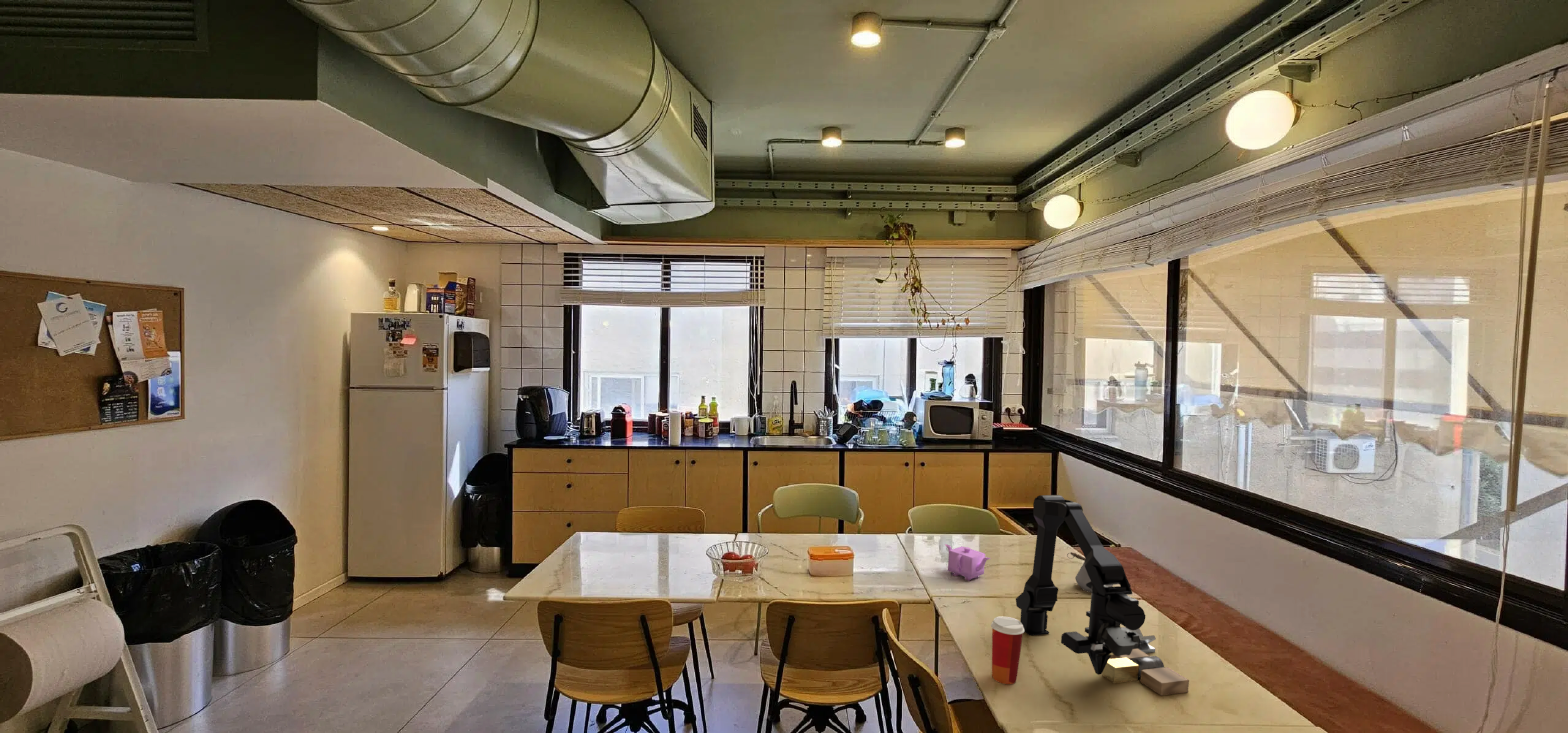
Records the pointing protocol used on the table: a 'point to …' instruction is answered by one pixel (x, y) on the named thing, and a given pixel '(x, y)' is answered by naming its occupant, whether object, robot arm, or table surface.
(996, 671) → the paper cup
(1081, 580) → the coffee pot
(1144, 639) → the v block
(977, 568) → the teapot
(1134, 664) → the block
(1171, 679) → the beam
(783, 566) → the table surface
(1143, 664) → the dark grey rounded block
